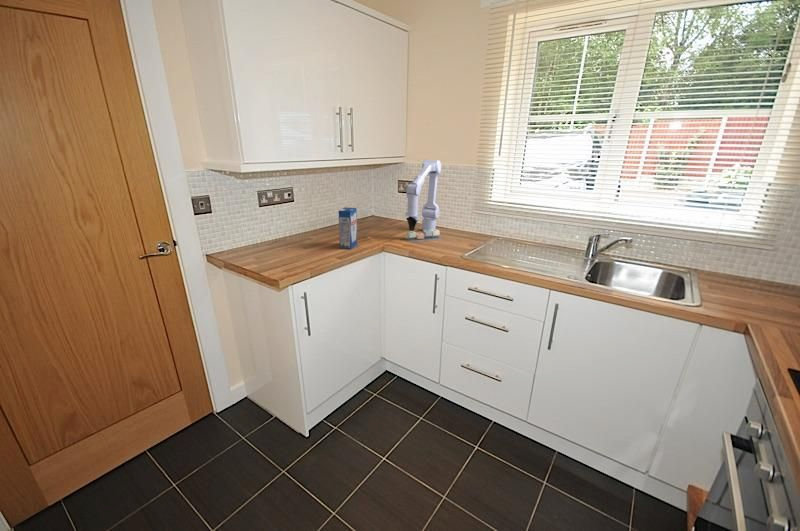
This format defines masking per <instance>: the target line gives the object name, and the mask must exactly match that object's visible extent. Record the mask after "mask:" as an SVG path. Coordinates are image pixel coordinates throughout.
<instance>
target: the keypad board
mask: <svg viewBox="0 0 800 531" xmlns="http://www.w3.org/2000/svg"><path fill="white" fill-rule="evenodd" d="M403 238H404V239H406V240H407V241H409V242H411V243H420V242H431V241H441V240H444V238H442V237H439V235H432V236H425V235H424V239H417V238H415V237H408V236H403Z"/></svg>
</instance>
